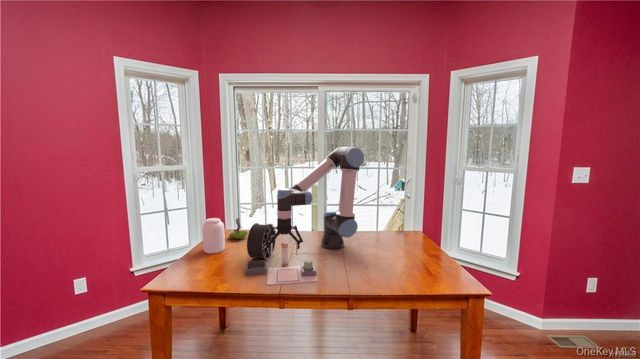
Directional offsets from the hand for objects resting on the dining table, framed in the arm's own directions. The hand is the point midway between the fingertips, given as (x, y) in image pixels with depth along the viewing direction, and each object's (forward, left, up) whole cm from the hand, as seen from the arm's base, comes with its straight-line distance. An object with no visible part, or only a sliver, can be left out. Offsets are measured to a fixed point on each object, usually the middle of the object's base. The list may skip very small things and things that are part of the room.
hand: (284, 255), depth 147 cm
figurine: (+31, -48, -6) cm, 57 cm away
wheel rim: (+12, -12, -6) cm, 18 cm away
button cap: (-12, +13, -3) cm, 18 cm away
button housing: (-12, +13, -5) cm, 18 cm away
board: (-3, +13, -5) cm, 14 cm away
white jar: (+43, -27, -6) cm, 51 cm away
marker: (0, 0, -5) cm, 5 cm away
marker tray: (+15, +5, -5) cm, 16 cm away
